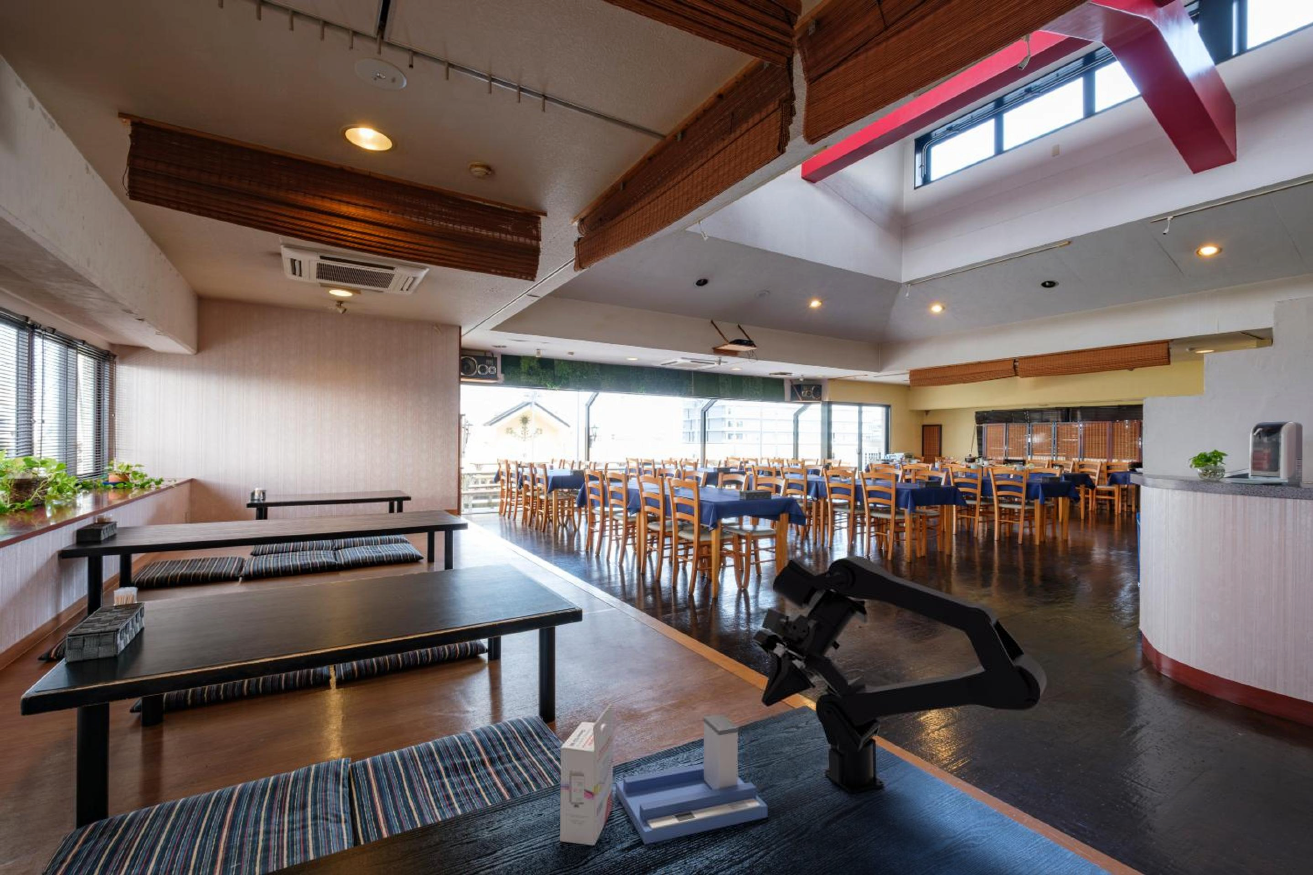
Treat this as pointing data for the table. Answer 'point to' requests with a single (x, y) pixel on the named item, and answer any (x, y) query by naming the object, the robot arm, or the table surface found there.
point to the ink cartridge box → (587, 780)
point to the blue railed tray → (685, 803)
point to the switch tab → (720, 752)
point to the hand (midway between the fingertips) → (764, 704)
